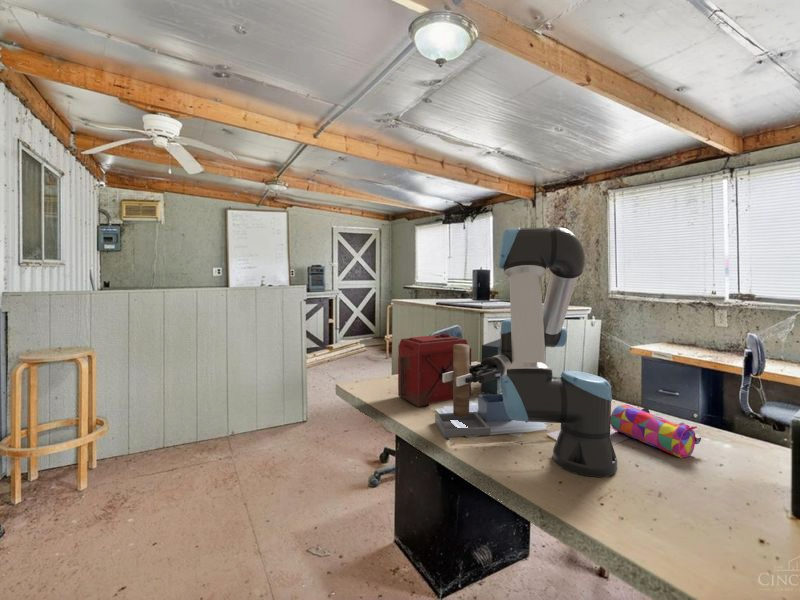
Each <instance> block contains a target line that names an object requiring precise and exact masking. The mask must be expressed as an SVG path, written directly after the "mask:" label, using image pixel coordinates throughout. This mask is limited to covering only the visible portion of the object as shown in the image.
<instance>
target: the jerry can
mask: <svg viewBox="0 0 800 600" xmlns="http://www.w3.org/2000/svg"><path fill="white" fill-rule="evenodd" d="M455 344H467V345H469V343H468V340H467V339H466V338H462V337H457V336H452V335H451V334H450V333H439V334H436V335H435V334H434V335H424V336H412V337H408V338H401V339H400V341H399V343H398V349H397V350H398V353H397V355H398V357H397V361H398V362H397V369H398V370H397V376H398V377H397V384H398V385H397V390H398V391H397V395H398V397H400V398H403V400H406V401H408V402H409V403H411V404H413V405H414V406H416V407H419V408H421V407H426V406H427V407H428V406H430V404H434V403H435V404H436V403H439V402H444V401H449V400H453V380H452V381H448V382H445V383H444V382H443V373H447V372H451V371H452V368H453V345H455ZM469 364H470V365H471V366H472V347H469ZM471 394H472V383H469V395H471Z"/></svg>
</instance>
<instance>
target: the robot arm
mask: <svg viewBox="0 0 800 600" xmlns="http://www.w3.org/2000/svg"><path fill="white" fill-rule="evenodd" d="M497 262H498V263H497V264H498V265H497V267H498V268H499V269H501V270H503V276H504V277H505V278H507V279H508V280H509V300H510V303H509V305H510V306H509V308H510V309H509V310H510V318H509V319H503V320H502V321H501V323H500V339H501V350H500V355H496V356H493V357H489V358H485V359H484V360H483V361H482V360H481V362H480V363H477V364H474V365H472V364H471V365H470V364H469V374H466V375H463V376H459V377H456V386H458V387H459V386H462V385H465V384H468V383H471V384H472V383H473V384H474V383H476V384H477V383H478V384H481V383H484V382H488V381H491V380H494V379H499V378H501V385H502V386H501V388H502V393H501V394H502V396H503V402H504V406H505V410H506V413H507V415H508V417H509V418H510V419H512V420H511V421H516V422H525V423H547V424H549V423H550V424H551V423H552V424H560V430H559V433H558V435H557V437H556V438H557V439H556V440H555V443H554V446H553V449H552V460H553V462H554V463H555V464H557V465H558V467H561V468H562V469H565V470H567V471H569V472H571V473H575V474H577V475H581V476H586V477H587V476H588V477H595V478H597V477H598V478H599V477H602V478H603V477H610V476H612V475H614V474H615V473H617V471H618V458H617V454H616V452H615V449H614V445H613V442H612V439H611V414H612V401H613V397H612V385H611V383H610V382H609V381H608V380H607V379H606V378H604V377H602V376H599V375H597V374H596V375H595V374H592V373H590V372H589V373H588V372H583V371H579V370H572V369H571V370H569V369H568V370H563V371H562V372H561V374H560V376H557V377H556V376H553V369H552V368H551V367H550V366H549V365H548V364H547V363H546V362H547V361H546V348H562V347H564V346H565V345H567V344H566V343H567V337H568V334H567V330H566V327H565V326H564V324H565V323H564V322H565V318H566V317H567V313H568V310H569V307H570V303H571V300H572V296H573V293H574V290H575V285H576V282H577V280H578V278H579V277H580V276H582V274H583V272H584V269H585V265H586V253H585V250H584V246H583V245H582V243H581V241H580V239H579V238H578V237H577V236H576V235H575V234H574V233H573V232H572V231H570V230H569V229H567V228H564V227H559V226H551V227H547V226H546V227H516V228H515V227H513V228H512V227H511V228H507V229H505V230H504V231H503V232H502V236H501V239H500V245H499V252H498V260H497ZM547 269H548V270H549V271H550V275H549V281H548V285H547V288H546V293H545V298H544V302H543V291H542V278H543V277H544V276H545V275H546V273H547ZM452 380H453V368H452V371H451V372H447V373H443V382H444V383H445V382H448V381H452Z"/></svg>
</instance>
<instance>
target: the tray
mask: <svg viewBox="0 0 800 600" xmlns="http://www.w3.org/2000/svg"><path fill="white" fill-rule="evenodd" d="M450 420H458V421H459V422H462V423H463V424H465V425H466V427H467V426H468V428H457V427H455V426H454V425H453V424H452V423H451V421H450ZM434 423H435V425H436V427H437V429H438V430H439V432H440V434H441V437H442V438H443V440H444V441H450V438H451V437H468V436H469V437H470V436H471V437H472V436H488V435H491V427H490V426H489V425H488V424H487V422H485V419H484V418H483V417H482V416H481V415H480V414H478V411H477V412H476V411H469V415H468V416H466V417H459V416H455V415H454V414H453V412H444V413H434Z"/></svg>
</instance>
